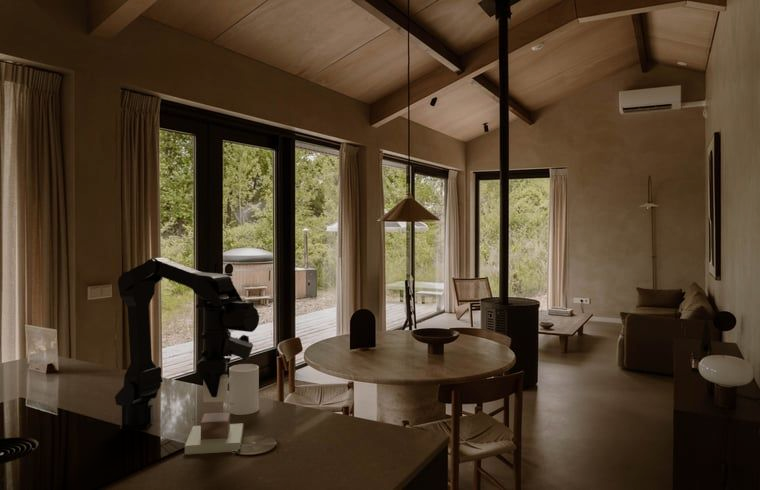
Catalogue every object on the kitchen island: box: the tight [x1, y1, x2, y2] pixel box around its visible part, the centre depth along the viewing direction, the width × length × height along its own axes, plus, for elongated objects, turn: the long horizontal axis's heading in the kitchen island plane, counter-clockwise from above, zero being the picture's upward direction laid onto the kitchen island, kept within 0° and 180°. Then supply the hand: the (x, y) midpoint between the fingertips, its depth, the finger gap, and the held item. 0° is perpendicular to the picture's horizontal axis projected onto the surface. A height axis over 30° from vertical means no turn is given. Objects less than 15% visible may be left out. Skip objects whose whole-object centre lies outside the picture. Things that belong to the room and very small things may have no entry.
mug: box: [225, 363, 260, 416], centre depth 147 cm, size 12×8×12 cm
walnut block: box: [200, 411, 231, 440], centre depth 125 cm, size 6×6×4 cm
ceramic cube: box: [202, 373, 229, 403], centre depth 125 cm, size 5×5×5 cm
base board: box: [184, 422, 244, 455], centre depth 125 cm, size 12×12×2 cm
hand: (215, 393), depth 125 cm, fingers closed on ceramic cube, 5 cm apart
